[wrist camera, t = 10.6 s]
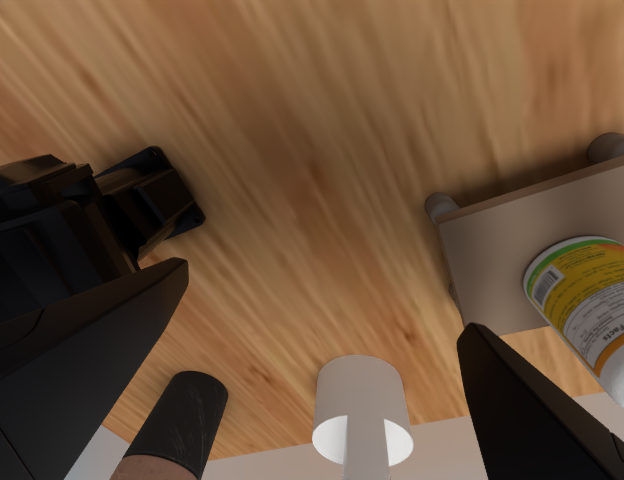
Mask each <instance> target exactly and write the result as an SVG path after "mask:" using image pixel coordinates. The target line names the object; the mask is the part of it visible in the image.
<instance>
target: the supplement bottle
mask: <svg viewBox="0 0 624 480" xmlns="http://www.w3.org/2000/svg"><path fill="white" fill-rule="evenodd" d="M523 287H524V291H525V294H526V296H527V298H528V299H529V301H530V302H531V303H532V304H533V306H534V307H535V308H536V309H537V310H538V312H539V313H540V314H541V315H542V316H543V318H544V319H545V320H546V321H547V322H548V323H549V325H550V326H551V327H552V328H553V329H554V331H555V332H556V333H557V334H558V335H559V337H560V338H561V339H562V340H563V341H564V342H565V344H566V345H567V346H568V347H569V348H570V350H571V351H572V352H573V353H574V354H575V356H576V357H577V358H578V359H579V360H580V362H581V363H582V364H583V365H584V366H585V367H586V369H587V370H588V371H589V372H590V373H591V375H592V376H593V377H594V378H595V380H596V381H597V382H598V383H599V384H600V386H601V387H602V388H603V389H604V390H605V391H606V392H607V393H608V395H609V396H610V397H611V398H612V399H613V400H614V401H615V402H616V403H617V404H618V405H619V406H620V407H622V408H623V409H624V245H622V244H621V243H619V242H617V241H614V240H612V239H609V238H605V237H598V236H584V237H577V238H573V239H569V240H566V241H563V242H561V243H558V244H556V245H554V246H552V247H550V248H549V249H547V250H546V251H544V252H543V253H542V254H541V255H539V256H538V257H537V258H536V259H535V260H534V261H533V262H532V264H531V265H530V266H529V268H528V269H527V271H526V274H525V277H524V281H523Z"/></svg>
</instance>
